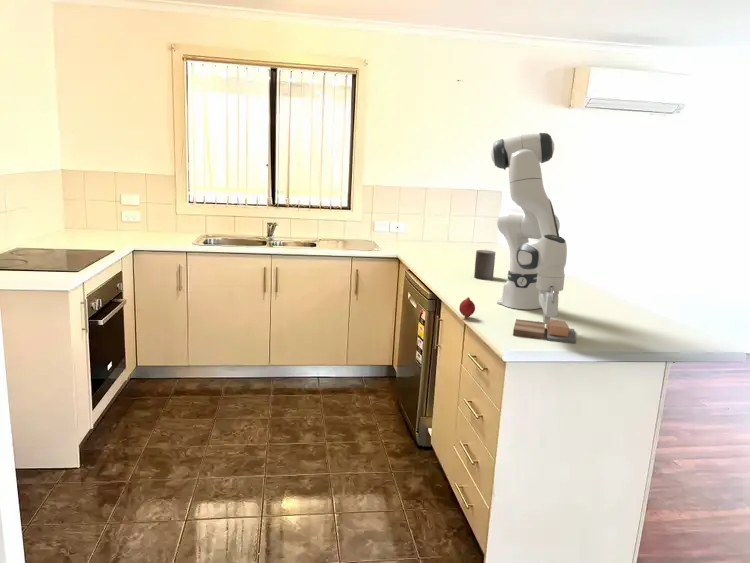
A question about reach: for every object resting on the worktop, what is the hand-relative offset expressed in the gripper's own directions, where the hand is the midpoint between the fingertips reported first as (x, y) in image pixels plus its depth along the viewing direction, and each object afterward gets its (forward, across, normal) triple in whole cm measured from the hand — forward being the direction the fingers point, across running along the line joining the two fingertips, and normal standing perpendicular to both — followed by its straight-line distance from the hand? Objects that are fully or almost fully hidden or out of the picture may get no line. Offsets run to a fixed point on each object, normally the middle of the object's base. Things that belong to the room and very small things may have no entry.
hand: (546, 323), depth 192 cm
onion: (+4, +13, +27) cm, 30 cm away
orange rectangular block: (+3, 0, -4) cm, 5 cm away
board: (+4, +1, +5) cm, 7 cm away
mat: (+4, -1, -5) cm, 6 cm away
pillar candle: (+4, +94, +18) cm, 95 cm away
